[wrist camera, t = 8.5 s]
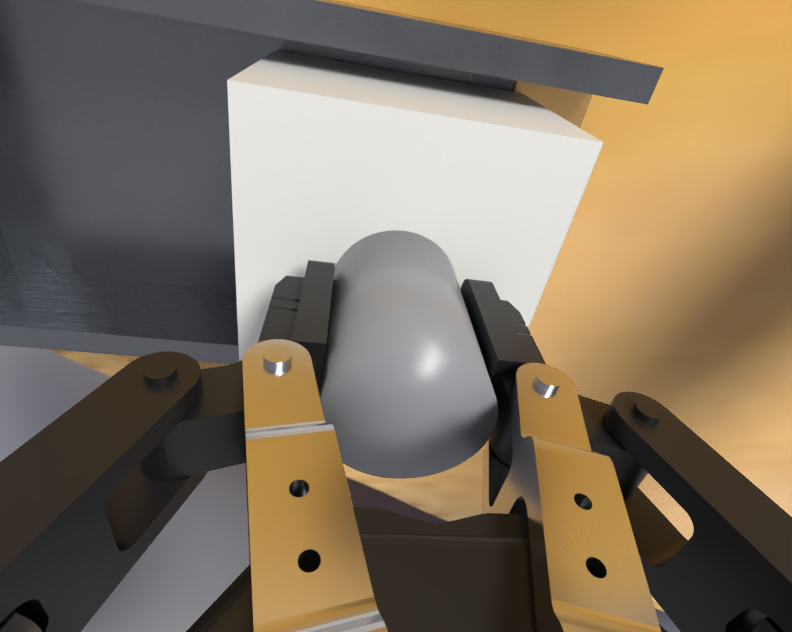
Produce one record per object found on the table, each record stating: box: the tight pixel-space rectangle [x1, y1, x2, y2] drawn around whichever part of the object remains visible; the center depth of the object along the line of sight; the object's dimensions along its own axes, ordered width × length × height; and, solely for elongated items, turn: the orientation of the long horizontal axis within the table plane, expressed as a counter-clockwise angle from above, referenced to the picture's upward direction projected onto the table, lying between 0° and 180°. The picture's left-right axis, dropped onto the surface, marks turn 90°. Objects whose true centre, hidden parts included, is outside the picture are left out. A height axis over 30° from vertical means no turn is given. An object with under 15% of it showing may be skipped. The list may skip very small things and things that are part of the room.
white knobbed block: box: [227, 50, 604, 478], centre depth 14 cm, size 10×9×12 cm
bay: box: [0, 0, 664, 364], centre depth 17 cm, size 13×24×5 cm, turn 81°
